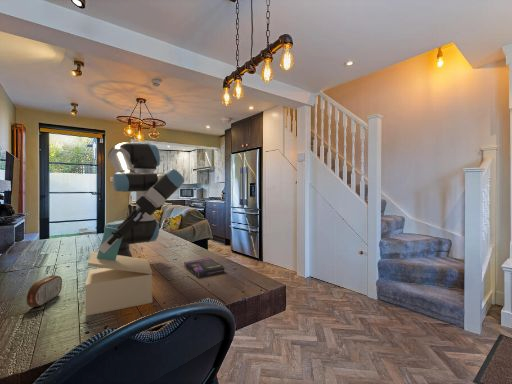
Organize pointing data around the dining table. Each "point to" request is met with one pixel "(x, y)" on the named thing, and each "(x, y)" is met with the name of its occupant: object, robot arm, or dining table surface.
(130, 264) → the flap
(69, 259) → the dining table surface
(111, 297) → the carton
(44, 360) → the dining table surface
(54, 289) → the tin
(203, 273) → the box
